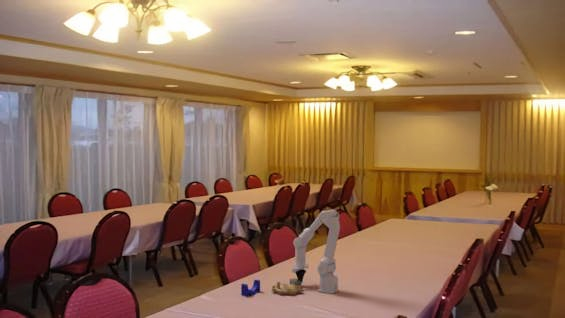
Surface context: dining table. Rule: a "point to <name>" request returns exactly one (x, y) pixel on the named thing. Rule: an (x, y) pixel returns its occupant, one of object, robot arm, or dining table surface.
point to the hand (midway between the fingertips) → (300, 282)
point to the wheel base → (289, 294)
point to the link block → (295, 282)
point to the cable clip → (252, 291)
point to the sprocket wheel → (286, 288)
